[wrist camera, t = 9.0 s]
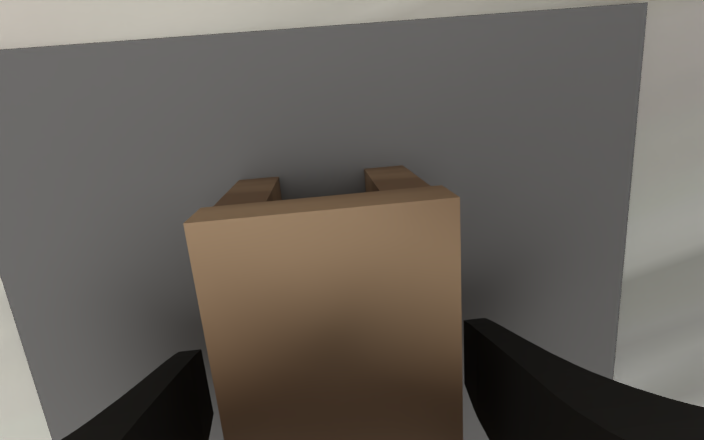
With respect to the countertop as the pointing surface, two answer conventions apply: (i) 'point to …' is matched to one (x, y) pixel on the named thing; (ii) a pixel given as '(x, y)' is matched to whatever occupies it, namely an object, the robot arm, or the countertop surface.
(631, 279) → the countertop surface
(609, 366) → the mat
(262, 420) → the stool
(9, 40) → the countertop surface
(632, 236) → the countertop surface
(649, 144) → the countertop surface
